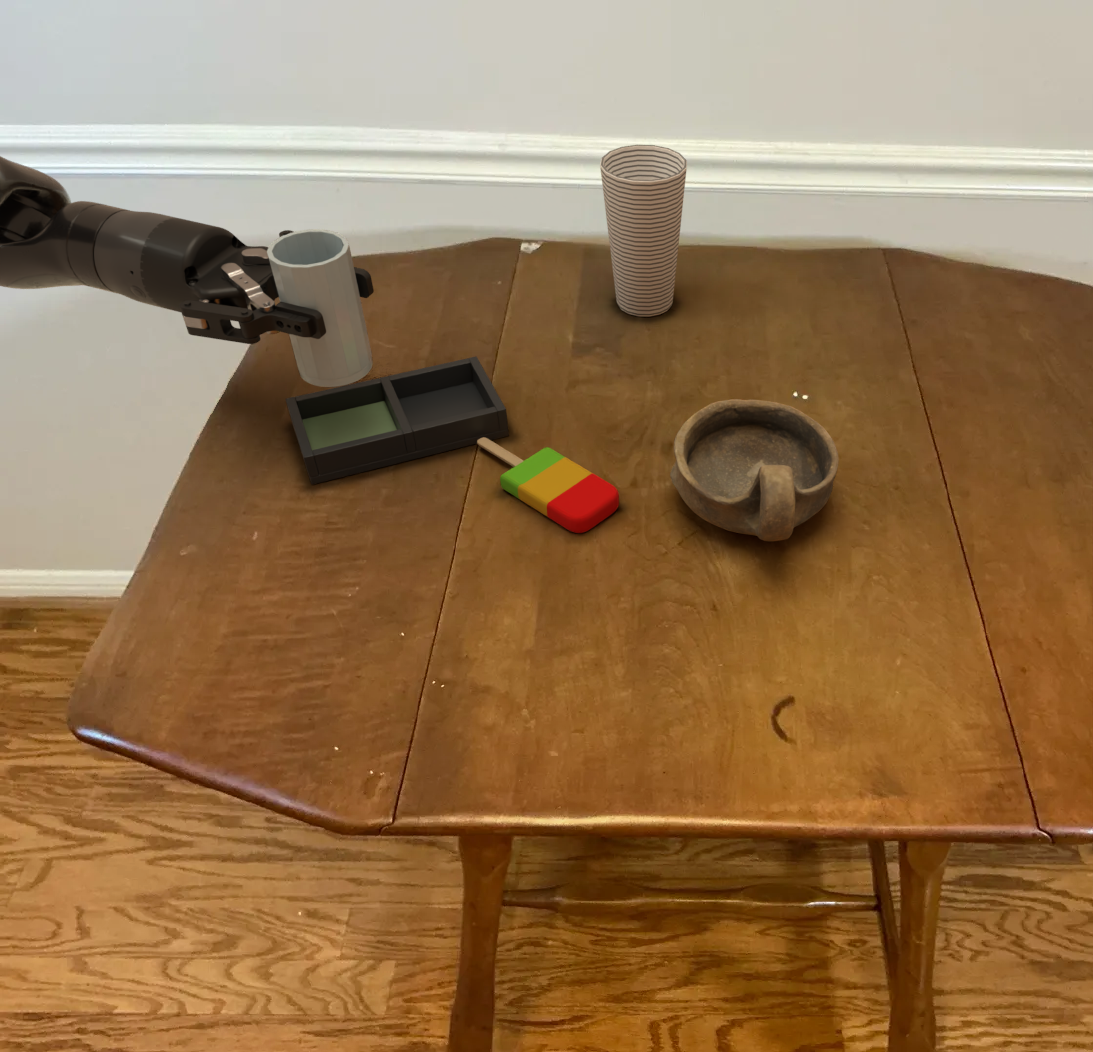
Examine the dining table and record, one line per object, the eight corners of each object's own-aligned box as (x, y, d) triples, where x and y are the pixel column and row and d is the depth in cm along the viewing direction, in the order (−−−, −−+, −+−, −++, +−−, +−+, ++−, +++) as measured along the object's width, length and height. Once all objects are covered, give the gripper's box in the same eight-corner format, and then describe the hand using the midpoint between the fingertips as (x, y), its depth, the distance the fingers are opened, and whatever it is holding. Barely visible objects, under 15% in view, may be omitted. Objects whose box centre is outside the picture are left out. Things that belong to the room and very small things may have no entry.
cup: (616, 278, 118) (612, 140, 108) (691, 288, 117) (695, 149, 106) (595, 318, 112) (589, 175, 101) (675, 328, 111) (677, 185, 100)
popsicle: (579, 540, 87) (578, 523, 86) (456, 462, 94) (454, 445, 92) (625, 506, 90) (625, 489, 89) (504, 433, 97) (502, 417, 96)
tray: (311, 485, 91) (303, 457, 89) (292, 425, 97) (285, 398, 95) (509, 436, 97) (506, 408, 95) (480, 382, 103) (476, 356, 101)
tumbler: (306, 394, 87) (274, 273, 80) (293, 355, 91) (261, 237, 84) (380, 378, 89) (355, 258, 82) (364, 341, 93) (339, 223, 86)
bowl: (816, 448, 97) (828, 354, 90) (855, 587, 84) (872, 490, 77) (664, 453, 95) (665, 359, 89) (679, 595, 83) (681, 497, 76)
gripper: (92, 262, 81) (280, 307, 78) (216, 185, 91) (388, 222, 88) (124, 346, 86) (303, 392, 83) (239, 264, 97) (402, 302, 93)
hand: (346, 304), depth 85 cm, fingers closed on tumbler, 6 cm apart
